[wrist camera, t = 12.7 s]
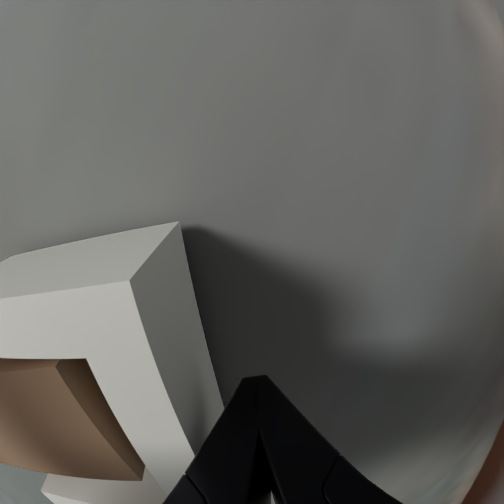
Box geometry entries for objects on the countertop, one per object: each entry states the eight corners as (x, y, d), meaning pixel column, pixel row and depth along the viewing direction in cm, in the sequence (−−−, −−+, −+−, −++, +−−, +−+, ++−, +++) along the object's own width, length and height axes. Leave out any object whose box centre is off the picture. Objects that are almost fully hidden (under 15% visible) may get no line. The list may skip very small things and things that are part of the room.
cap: (229, 426, 10) (233, 526, 6) (90, 429, 10) (59, 508, 6) (179, 221, 8) (129, 280, 4) (12, 255, 8) (-77, 308, 4)
